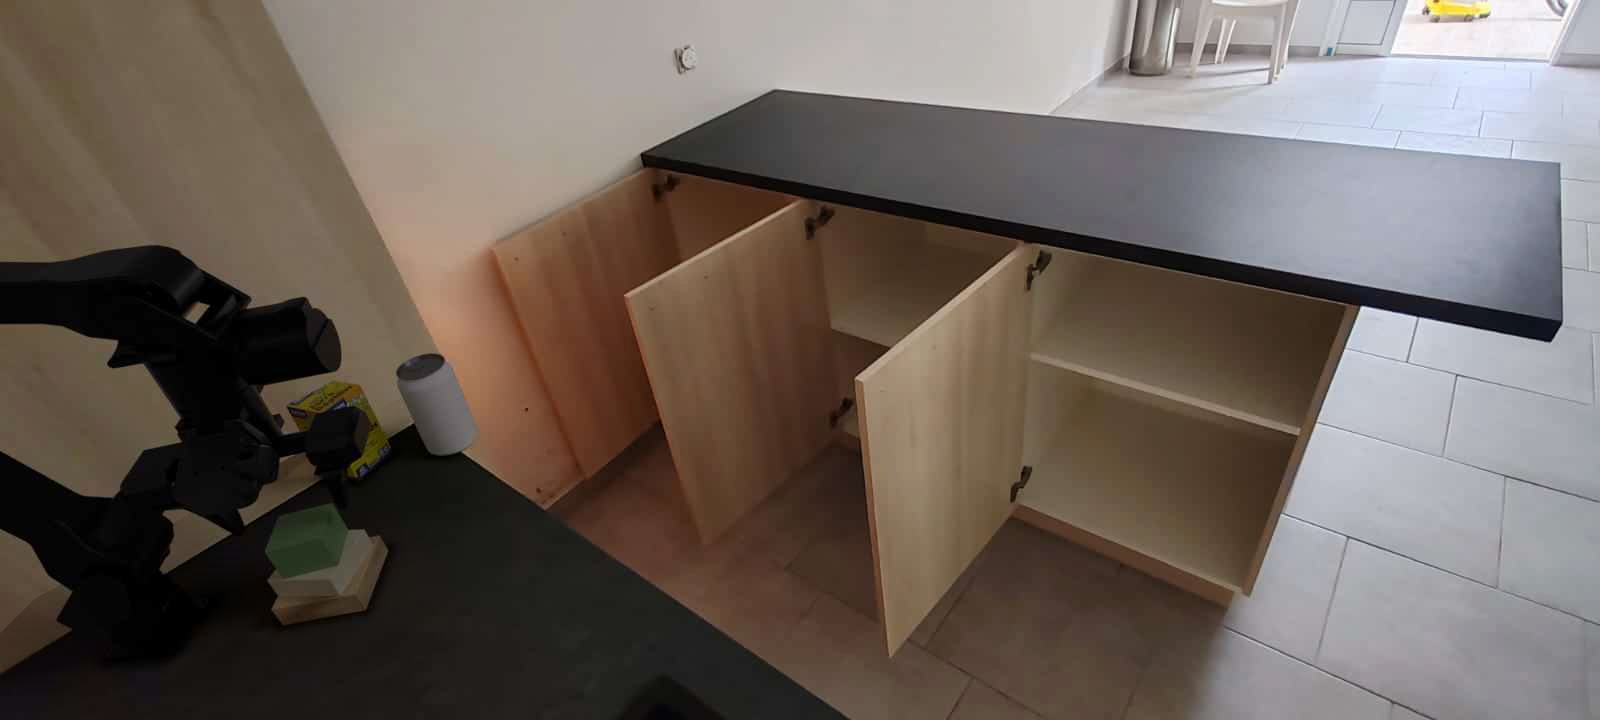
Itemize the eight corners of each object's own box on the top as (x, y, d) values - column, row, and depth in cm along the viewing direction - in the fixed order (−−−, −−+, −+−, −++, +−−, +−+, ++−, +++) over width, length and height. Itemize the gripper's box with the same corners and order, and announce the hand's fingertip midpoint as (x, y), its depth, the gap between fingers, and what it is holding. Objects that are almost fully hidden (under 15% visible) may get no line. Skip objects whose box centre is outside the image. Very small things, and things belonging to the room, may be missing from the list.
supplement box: (359, 483, 91) (321, 413, 85) (323, 475, 93) (283, 406, 87) (395, 452, 96) (361, 383, 90) (360, 444, 98) (324, 377, 92)
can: (461, 459, 94) (427, 382, 87) (416, 455, 95) (380, 379, 88) (489, 427, 99) (459, 352, 92) (446, 424, 100) (413, 350, 93)
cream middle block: (278, 597, 74) (266, 580, 73) (316, 547, 79) (305, 530, 78) (340, 595, 74) (329, 579, 72) (374, 545, 79) (364, 529, 78)
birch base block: (282, 625, 74) (270, 609, 73) (312, 564, 81) (302, 548, 79) (365, 610, 75) (355, 594, 74) (388, 550, 82) (379, 535, 80)
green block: (283, 579, 73) (264, 551, 70) (296, 543, 77) (278, 515, 74) (338, 565, 74) (321, 537, 71) (348, 530, 78) (332, 502, 75)
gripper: (35, 480, 55) (151, 613, 64) (307, 421, 59) (383, 555, 68) (105, 396, 64) (199, 523, 73) (337, 350, 68) (400, 476, 77)
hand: (294, 520), depth 72 cm, fingers open, 9 cm apart
